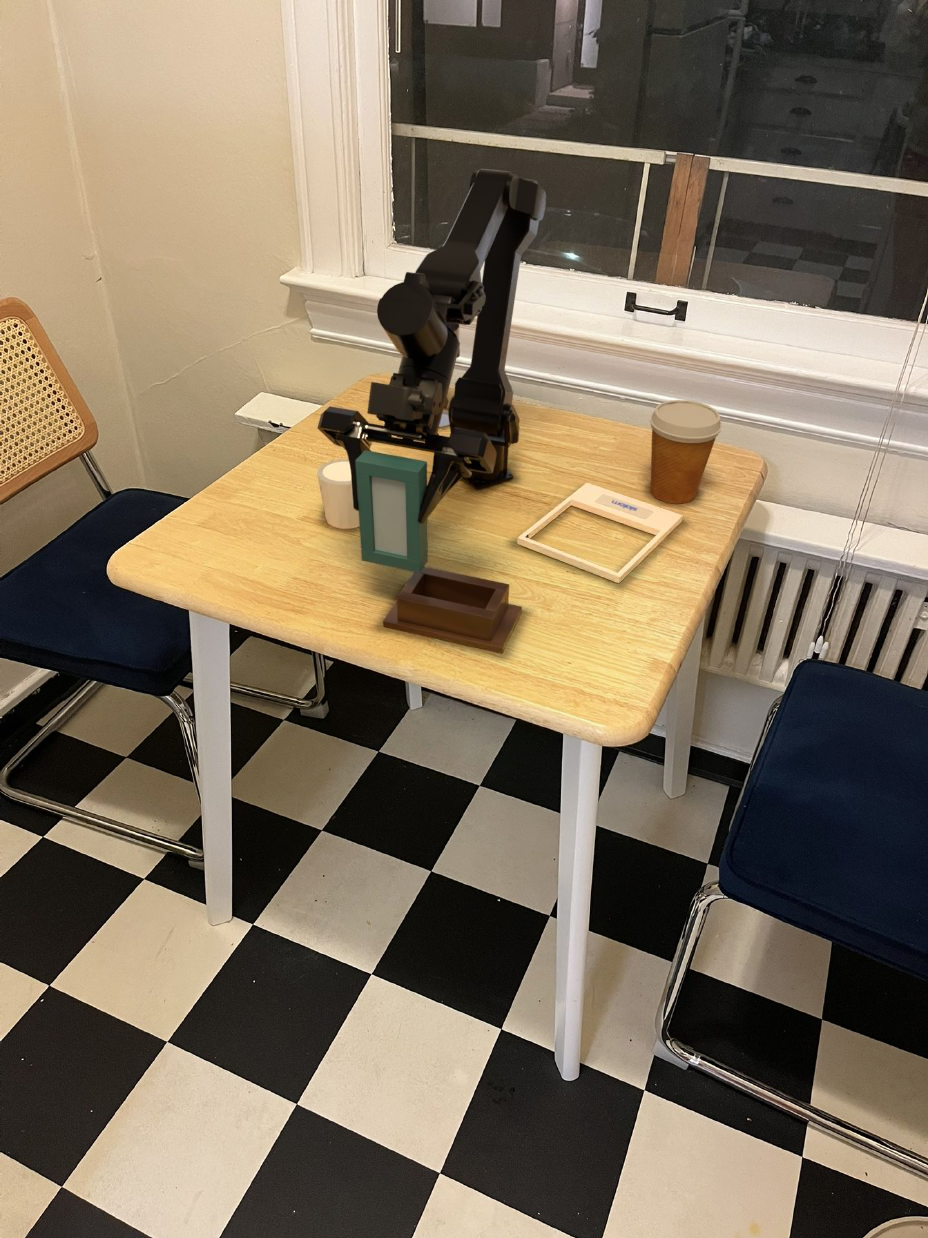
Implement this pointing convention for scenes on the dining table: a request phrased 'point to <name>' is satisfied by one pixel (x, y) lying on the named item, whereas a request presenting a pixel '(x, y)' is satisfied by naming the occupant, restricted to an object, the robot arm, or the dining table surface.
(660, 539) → the photo frame
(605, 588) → the dining table surface
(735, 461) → the dining table surface
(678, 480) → the disposable coffee cup
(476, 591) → the frame holder
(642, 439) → the dining table surface
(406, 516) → the picture frame
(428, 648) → the dining table surface
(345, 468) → the beige cup
